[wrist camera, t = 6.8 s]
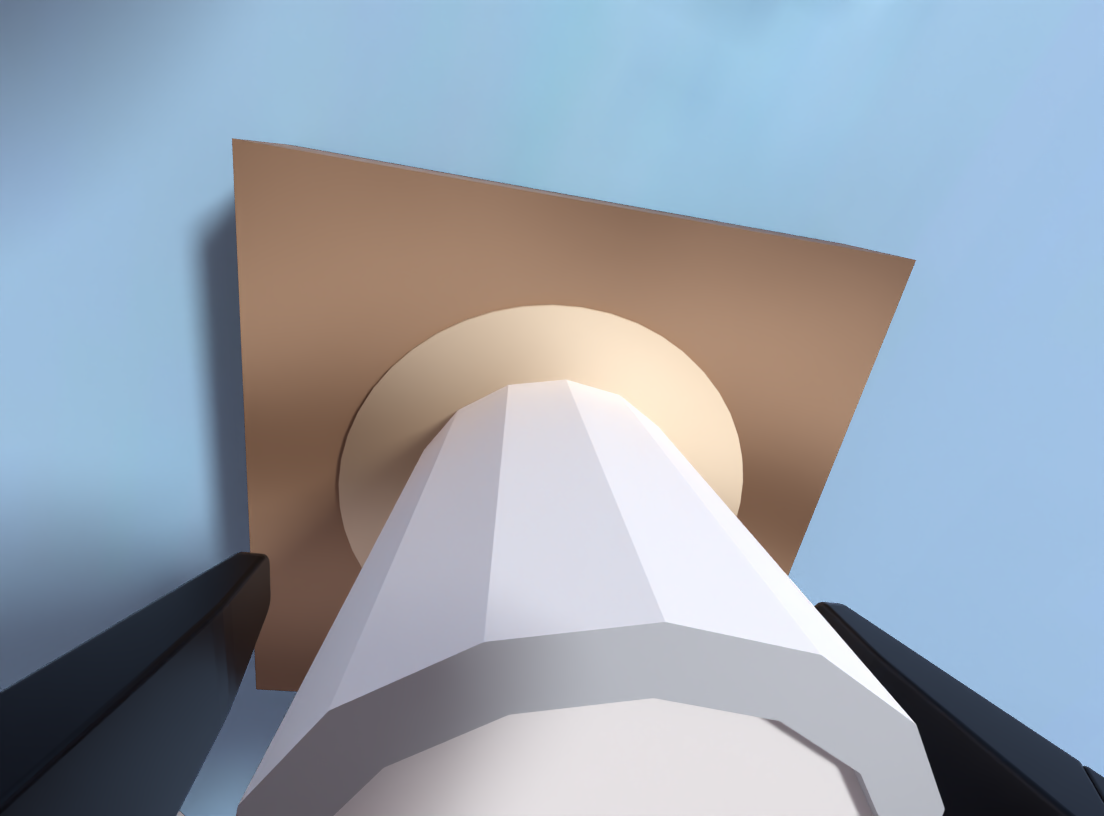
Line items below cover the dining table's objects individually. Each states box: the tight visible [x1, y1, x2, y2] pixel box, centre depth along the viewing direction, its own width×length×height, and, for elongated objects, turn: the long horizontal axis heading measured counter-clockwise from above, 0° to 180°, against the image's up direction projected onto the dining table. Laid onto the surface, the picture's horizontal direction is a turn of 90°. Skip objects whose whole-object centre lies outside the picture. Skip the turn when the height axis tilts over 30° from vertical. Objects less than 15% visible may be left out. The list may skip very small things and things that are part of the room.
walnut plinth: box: [232, 139, 916, 692], centre depth 13 cm, size 12×12×3 cm
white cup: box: [236, 379, 945, 816], centre depth 9 cm, size 7×7×7 cm
